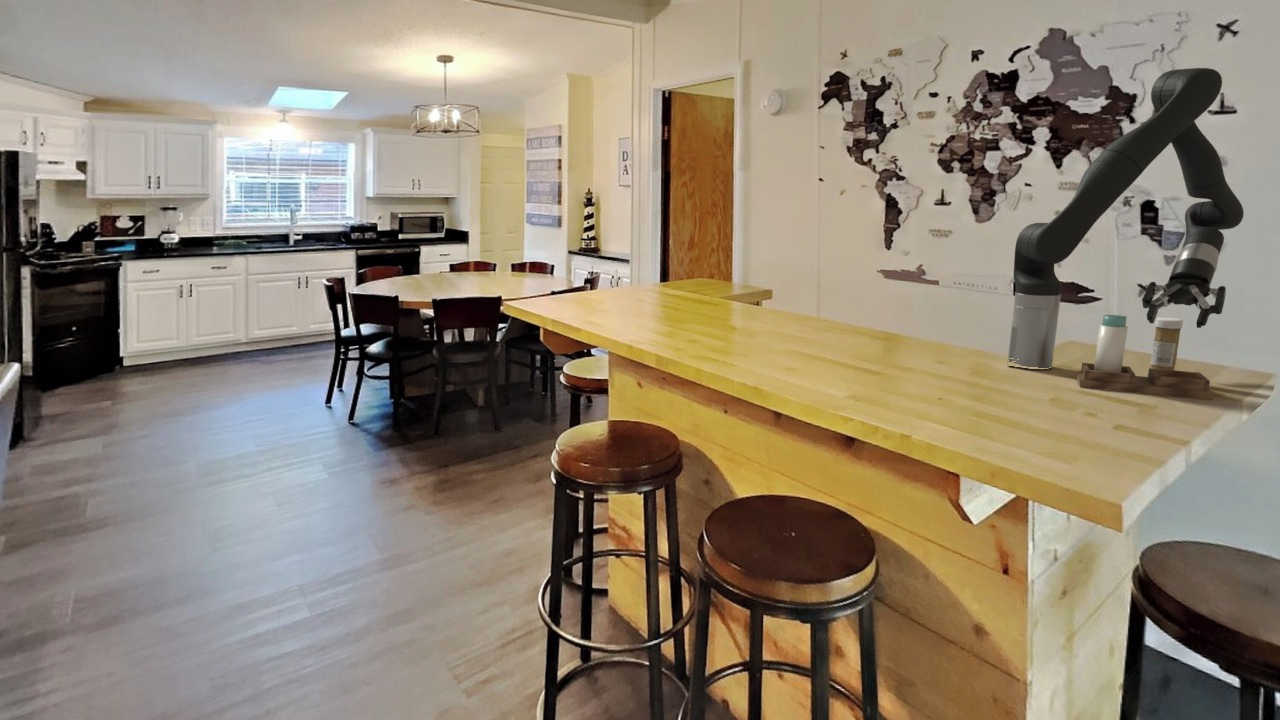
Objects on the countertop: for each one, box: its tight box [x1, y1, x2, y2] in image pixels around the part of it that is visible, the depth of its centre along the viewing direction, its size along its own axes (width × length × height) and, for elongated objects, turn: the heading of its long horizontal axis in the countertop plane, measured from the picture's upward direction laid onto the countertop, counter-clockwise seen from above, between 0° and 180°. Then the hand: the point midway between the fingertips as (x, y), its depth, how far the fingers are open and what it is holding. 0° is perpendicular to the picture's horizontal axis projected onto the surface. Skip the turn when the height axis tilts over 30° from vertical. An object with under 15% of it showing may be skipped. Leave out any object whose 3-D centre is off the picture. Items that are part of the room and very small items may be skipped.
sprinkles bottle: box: [1149, 317, 1184, 370], centre depth 151 cm, size 5×5×13 cm
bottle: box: [1094, 314, 1129, 373], centre depth 147 cm, size 5×5×13 cm
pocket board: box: [1075, 362, 1214, 401], centre depth 145 cm, size 22×10×4 cm, turn 62°
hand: (1174, 323), depth 154 cm, fingers open, 8 cm apart
